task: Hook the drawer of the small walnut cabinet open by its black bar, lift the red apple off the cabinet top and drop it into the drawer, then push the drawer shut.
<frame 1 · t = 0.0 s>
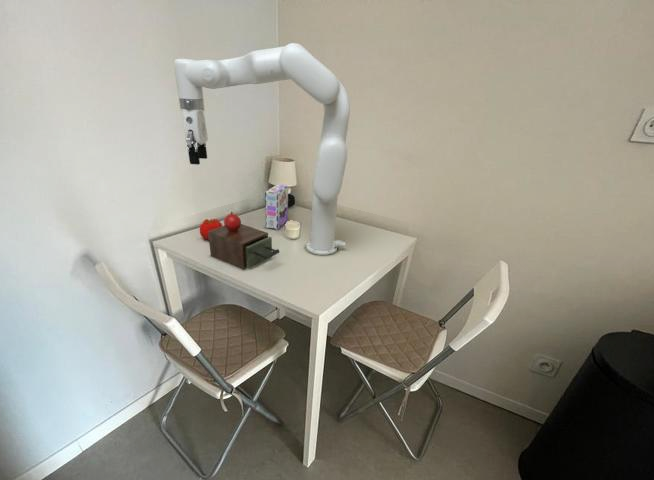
hand: (199, 161, 121), 31 cm above the table, tool pointing down, fingers open, 9 cm apart
tomato: (212, 239, 142), on the table
candy box: (277, 224, 160), on the table
drawer: (250, 248, 124), point 5 cm above the table, slide at 1.0 cm
cabinet: (240, 256, 129), on the table
apple: (233, 230, 125), point 10 cm above the table, touching cabinet
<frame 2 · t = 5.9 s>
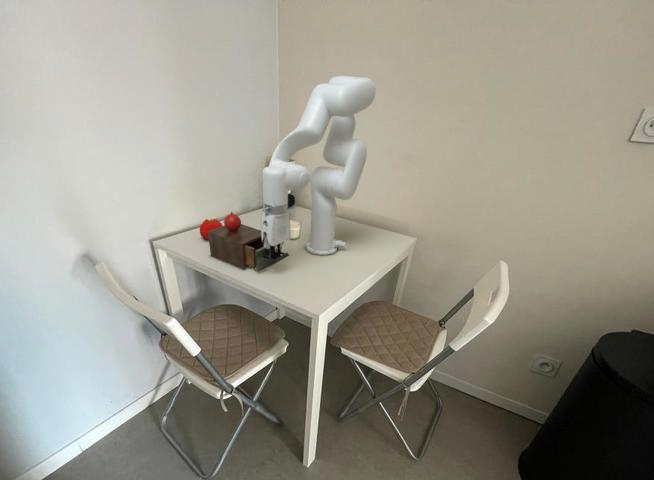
hand: (275, 260, 119), 4 cm above the table, tool pointing down, fingers closed
drawer: (259, 252, 122), point 5 cm above the table, slide at 5.3 cm, touching gripper
everything else where it was.
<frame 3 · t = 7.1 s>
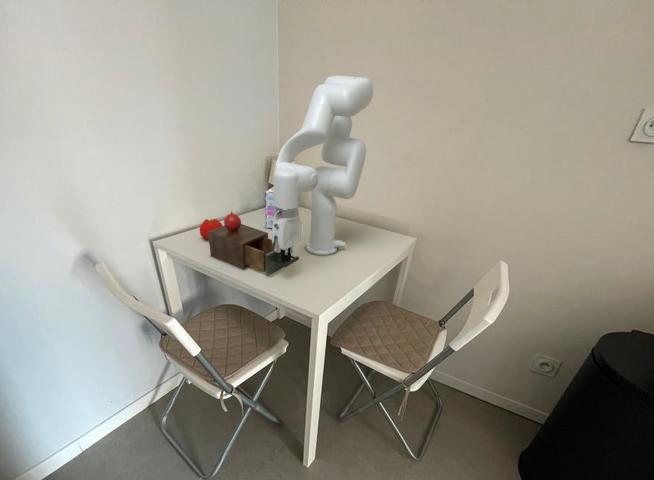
hand: (285, 263, 117), 4 cm above the table, tool pointing down, fingers closed
drawer: (268, 255, 120), point 5 cm above the table, slide at 9.7 cm
everything else where it was.
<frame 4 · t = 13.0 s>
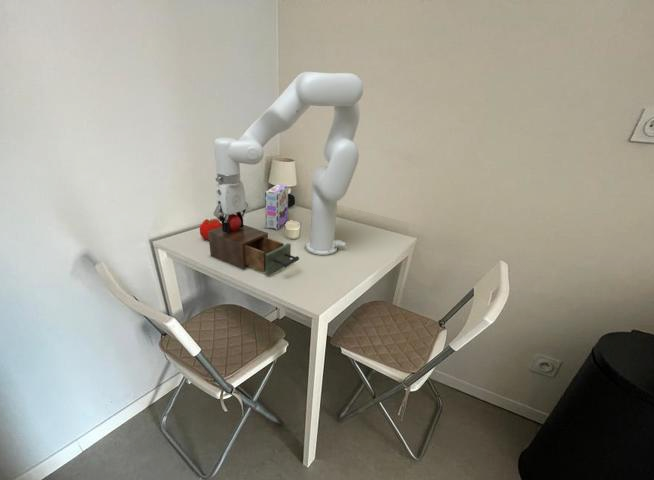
hand: (233, 229, 125), 10 cm above the table, tool pointing down, fingers closed on apple, 6 cm apart
apple: (233, 230, 125), point 10 cm above the table, touching cabinet, gripper
everything else where it was.
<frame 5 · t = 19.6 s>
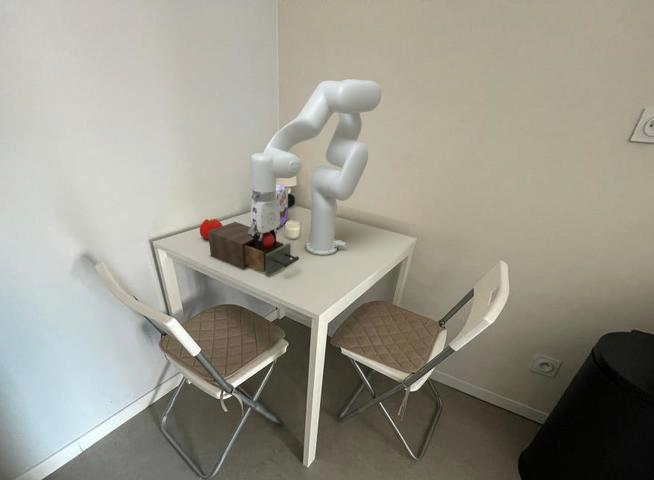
hand: (265, 246, 119), 8 cm above the table, tool pointing down, fingers closed on apple, 6 cm apart
drawer: (268, 255, 120), point 5 cm above the table, slide at 9.7 cm, touching gripper
apple: (265, 248, 120), point 7 cm above the table, touching gripper
everything else where it was.
when the fingers open (10 cm above the table, at t = 34.0 s): apple drops 7 cm, resting on drawer.
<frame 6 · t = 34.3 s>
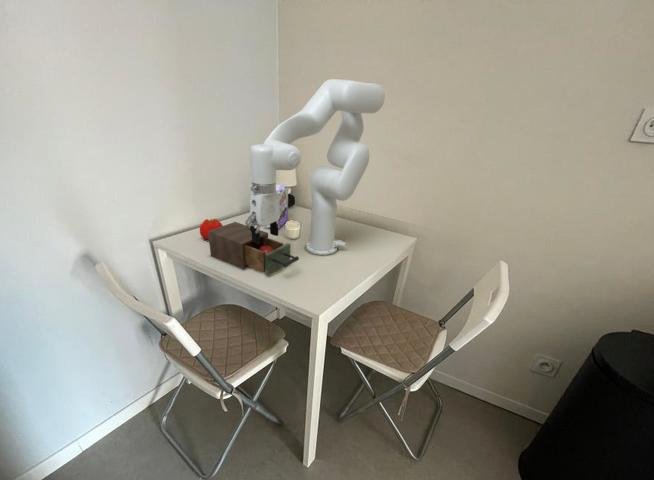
hand: (265, 238, 118), 11 cm above the table, tool pointing down, fingers open, 8 cm apart
drawer: (268, 255, 120), point 5 cm above the table, slide at 9.6 cm, touching apple
apple: (266, 261, 123), point 2 cm above the table, touching drawer
everything else where it was.
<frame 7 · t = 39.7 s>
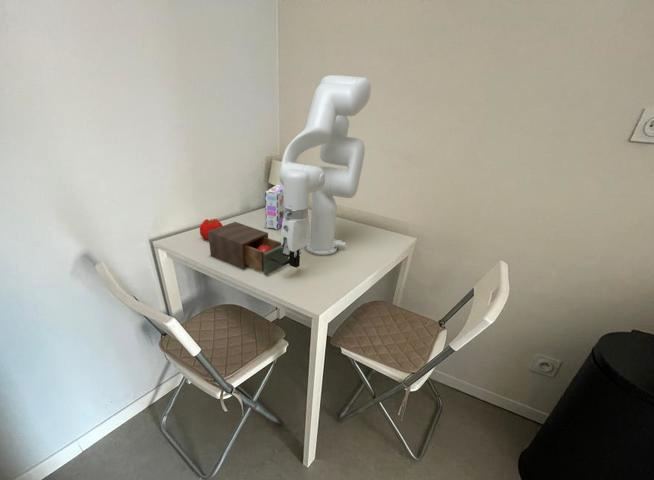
hand: (294, 265, 115), 5 cm above the table, tool pointing down, fingers closed
drawer: (266, 255, 121), point 5 cm above the table, slide at 8.8 cm, touching apple, gripper
everything else where it was.
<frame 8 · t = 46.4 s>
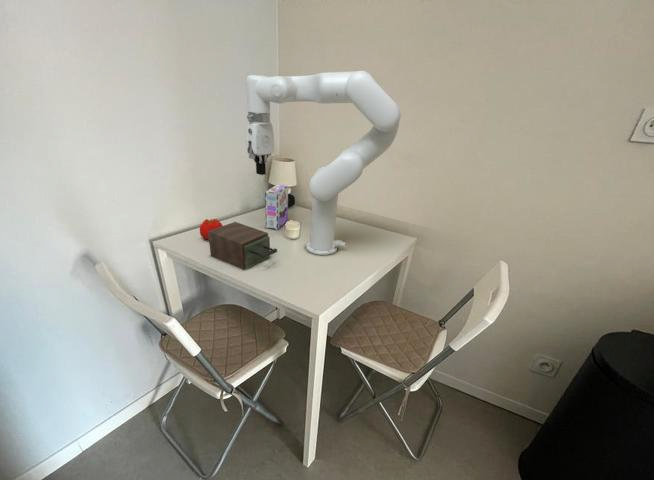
hand: (261, 174, 127), 27 cm above the table, tool pointing down, fingers closed
drawer: (248, 248, 125), point 5 cm above the table, slide at 0.0 cm, touching apple, cabinet
apple: (246, 252, 126), point 3 cm above the table, tilted 35°, touching drawer
everything else where it was.
at the end: drawer pulled out 9.7 cm at the most during the clip, back to where it started at the end; apple inside the target area in the cabinet (3.7 cm from its centre), point 3.0 cm above the cabinet's base; drawer slide at 0.0 cm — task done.
